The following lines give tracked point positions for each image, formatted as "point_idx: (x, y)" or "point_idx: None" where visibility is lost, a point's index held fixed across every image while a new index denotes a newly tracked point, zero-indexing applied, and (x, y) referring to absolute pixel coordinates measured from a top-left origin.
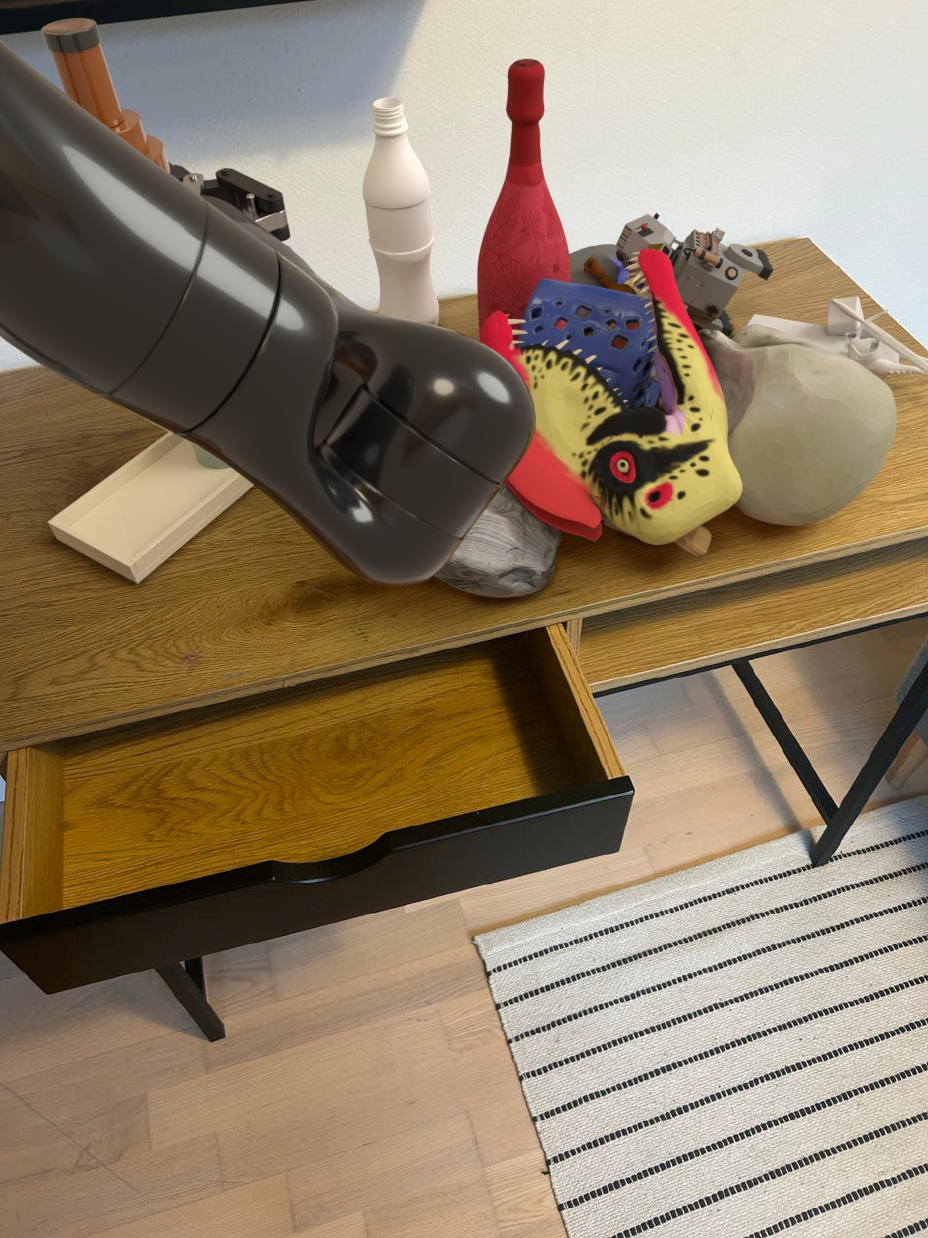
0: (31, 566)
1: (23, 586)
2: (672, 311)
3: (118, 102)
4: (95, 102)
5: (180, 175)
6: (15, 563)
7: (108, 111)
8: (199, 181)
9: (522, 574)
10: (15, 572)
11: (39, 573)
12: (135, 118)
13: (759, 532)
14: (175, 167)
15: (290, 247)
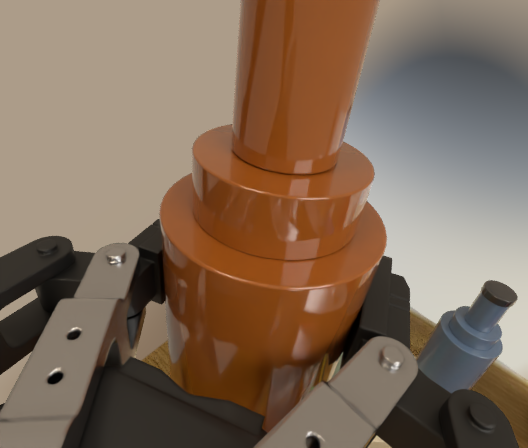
0: (168, 354)
1: (149, 363)
2: None
3: (334, 134)
4: (264, 103)
5: (376, 322)
6: (167, 343)
7: (284, 138)
8: (391, 389)
9: None
10: (159, 349)
11: (164, 363)
12: (350, 184)
13: None
14: (388, 292)
15: (501, 331)
